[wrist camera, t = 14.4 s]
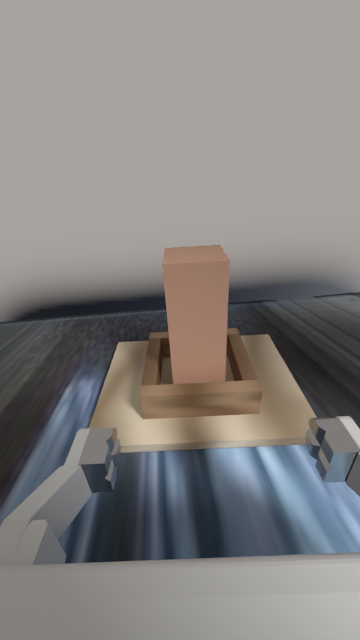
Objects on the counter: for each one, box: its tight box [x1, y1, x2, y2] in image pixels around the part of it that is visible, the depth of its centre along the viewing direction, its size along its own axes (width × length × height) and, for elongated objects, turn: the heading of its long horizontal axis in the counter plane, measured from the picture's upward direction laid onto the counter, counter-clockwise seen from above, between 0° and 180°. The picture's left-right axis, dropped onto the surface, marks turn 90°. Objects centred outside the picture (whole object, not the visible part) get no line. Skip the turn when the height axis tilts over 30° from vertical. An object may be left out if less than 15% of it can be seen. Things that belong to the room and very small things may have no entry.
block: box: [162, 245, 230, 384], centre depth 22 cm, size 4×4×12 cm
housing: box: [89, 328, 317, 453], centre depth 25 cm, size 18×14×3 cm
